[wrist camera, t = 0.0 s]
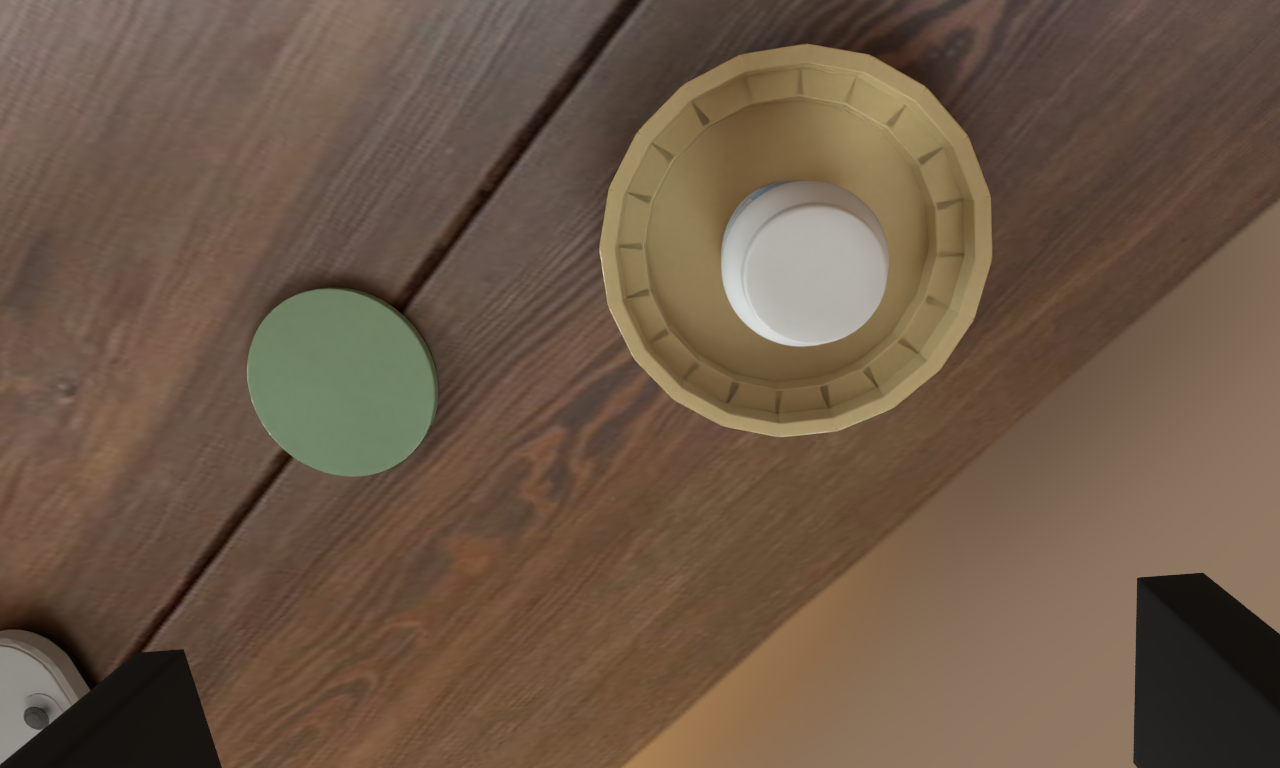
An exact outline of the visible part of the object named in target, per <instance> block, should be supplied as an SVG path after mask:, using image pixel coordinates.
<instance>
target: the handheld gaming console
mask: <svg viewBox="0 0 1280 768" xmlns="http://www.w3.org/2000/svg"><path fill="white" fill-rule="evenodd" d="M92 689H93V687H92V686H91V684H90V683H89V681H88V679H87V678H86V676H85V674H84V673H83V671H82V670H81V668H80V666H79V665H78V663H77V662H76V660H75V659H74V658H73V656H72V655H71V654H70V652H69V651H68V650H67V649H66V648H65V647H63V646H62V645H61V644H60V643H59V642H57V641H55V640H53V639H51V638H49V637H47V636H45V635H42V634H39V633H36V632H32V631H24V630H4V631H0V764H1V763H3V762H4V761H5V760H6V759H8V758H9V757H10V756H11V755H12V754H14V753H15V752H16V751H17V750H19V749H20V748H21V747H22V746H23V745H25V744H26V743H27V742H28V741H29V740H31V739H32V738H33V737H34V736H36V735H37V734H38V733H39V732H40V731H42V730H43V729H44V728H45V727H47V726H48V725H49V724H50V723H51V722H53V721H54V720H55V719H56V718H58V717H59V716H60V715H61V714H62V713H64V712H65V711H66V710H67V709H68V708H70V707H71V706H72V705H73V704H75V703H76V702H77V701H78V700H79V699H81V698H82V697H83V696H84V695H86V694H87V693H88V692H89V691H90V690H92Z"/></svg>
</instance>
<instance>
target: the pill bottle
mask: <svg viewBox="0 0 1280 768" xmlns="http://www.w3.org/2000/svg"><path fill="white" fill-rule="evenodd" d="M888 269H889V251H888V244H887V240H886V236H885V233H884V231H883V228H882V226H881V224H880V222H879V220H878V219H877V217H876V215H875V214H874V213H873V211H872V210H871V209H870V208H869V207H868V205H866V204H865V203H864V202H863V201H862V200H861V199H860V198H859V197H857V196H856V195H854V194H853V193H851V192H850V191H848V190H846V189H844V188H842V187H839V186H837V185H833V184H830V183H827V182H821V181H814V180H786V181H778V182H774V183H770V184H768V185H765V186H763V187H761V188H759V189H757V190H755V191H754V192H752V193H751V194H750V195H748V196H747V197H746V198H745V199H744V200H743V201H742V202H741V203H740V204H739V205H738V207H737V208H736V209H735V211H734V212H733V214H732V216H731V218H730V220H729V222H728V224H727V226H726V229H725V232H724V236H723V240H722V248H721V273H722V281H723V286H724V289H725V292H726V295H727V297H728V300H729V302H730V304H731V306H732V308H733V309H734V311H735V312H736V314H737V315H738V316H739V318H740V319H741V320H742V321H743V322H744V323H745V324H746V325H747V326H748V327H749V328H751V329H752V330H753V331H755V332H756V333H757V334H759V335H761V336H762V337H764V338H766V339H769V340H771V341H773V342H777V343H780V344H784V345H789V346H814V345H820V344H824V343H829V342H833V341H836V340H839V339H841V338H844V337H846V336H848V335H850V334H851V333H853V332H855V331H856V330H857V329H859V328H860V327H861V326H862V325H864V324H865V323H866V322H867V321H868V319H869V318H870V317H871V316H872V315H873V313H874V312H875V310H876V309H877V307H878V306H879V304H880V302H881V299H882V297H883V295H884V291H885V287H886V283H887V276H888Z"/></svg>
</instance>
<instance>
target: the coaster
mask: <svg viewBox="0 0 1280 768" xmlns="http://www.w3.org/2000/svg"><path fill="white" fill-rule="evenodd" d="M247 380H248V387H249V392H250V397H251V400H252V402H253V405H254V408H255V410H256V412H257V415H258V417H259V419H260V420H261V422H262V424H263V425H264V427H265V428H266V430H267V431H268V433H269V434H270V435H271V436H272V438H273V439H274V440H275V441H276V442H277V443H278V444H279V445H280V446H281V447H282V448H283V449H284V450H285V451H287V452H288V453H289V454H290V455H292V456H293V457H294V458H296V459H298V460H299V461H301V462H302V463H304V464H306V465H308V466H310V467H312V468H314V469H317V470H320V471H323V472H326V473H330V474H334V475H340V476H366V475H372V474H376V473H379V472H382V471H385V470H387V469H389V468H392V467H394V466H396V465H397V464H399V463H400V462H402V461H403V460H405V459H406V458H407V457H408V456H409V455H410V454H411V453H412V452H414V451H415V450H416V449H417V448H418V446H419V445H420V444H421V443H422V442H423V440H424V439H425V437H426V435H427V434H428V432H429V430H430V428H431V426H432V423H433V421H434V418H435V414H436V410H437V404H438V380H437V373H436V369H435V365H434V362H433V359H432V356H431V354H430V352H429V349H428V347H427V345H426V344H425V342H424V340H423V338H422V337H421V335H420V334H419V332H418V331H417V330H416V328H415V327H414V326H413V325H412V324H411V323H410V322H409V320H408V319H407V318H406V317H405V316H404V315H402V314H401V313H400V312H399V311H398V310H396V309H395V308H394V307H392V306H391V305H389V304H388V303H386V302H385V301H383V300H381V299H379V298H377V297H375V296H373V295H371V294H368V293H365V292H362V291H359V290H355V289H350V288H342V287H325V288H318V289H313V290H309V291H305V292H302V293H299V294H297V295H294V296H292V297H290V298H288V299H287V300H285V301H283V302H282V303H280V304H279V305H278V306H276V307H275V308H274V309H273V310H272V311H271V312H270V313H269V314H268V315H267V316H266V317H265V319H264V320H263V321H262V323H261V324H260V326H259V327H258V329H257V331H256V333H255V335H254V337H253V340H252V343H251V346H250V349H249V355H248V360H247Z"/></svg>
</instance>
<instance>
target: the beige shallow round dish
mask: <svg viewBox="0 0 1280 768" xmlns="http://www.w3.org/2000/svg"><path fill="white" fill-rule="evenodd" d="M786 180H814V181H821V182H827V183H830V184H833V185H837V186H839V187H842V188H844V189H846V190H848V191H850V192H851V193H853V194H854V195H856V196H857V197H859V198H860V199H861V200H862V201H863V202H864V203H865V204H866V205H868V207H869V208H870V209H871V210H872V211H873V213H874V214H875V215H876V217H877V219H878V220H879V222H880V224H881V226H882V228H883V231H884V233H885V236H886V240H887V244H888V251H889V269H888V276H887V283H886V287H885V291H884V295H883V297H882V299H881V302H880V304H879V306H878V307H877V309H876V310H875V312H874V313H873V315H872V316H871V317H870V318H869V319H868V321H867V322H866V323H865V324H864V325H862V326H861V327H860V328H859V329H857V330H856V331H855V332H853V333H851V334H850V335H848V336H846V337H844V338H841V339H839V340H836V341H833V342H829V343H824V344H820V345H814V346H789V345H784V344H780V343H777V342H773V341H771V340H769V339H766V338H764V337H762V336H761V335H759V334H757V333H756V332H755V331H753V330H752V329H751V328H749V327H748V326H747V325H746V324H745V323H744V322H743V321H742V320H741V319H740V318H739V316H738V315H737V314H736V312H735V311H734V309H733V308H732V306H731V304H730V302H729V300H728V297H727V295H726V292H725V289H724V286H723V281H722V273H721V248H722V240H723V236H724V232H725V229H726V226H727V224H728V222H729V220H730V218H731V216H732V214H733V212H734V211H735V209H736V208H737V207H738V205H739V204H740V203H741V202H742V201H743V200H744V199H745V198H746V197H747V196H748V195H750V194H751V193H752V192H754V191H755V190H757V189H759V188H761V187H763V186H765V185H768V184H770V183H774V182H778V181H786ZM989 195H990V192H989V189H988V187H987V184H986V181H985V179H984V176H983V173H982V171H981V168H980V165H979V163H978V160H977V157H976V155H975V152H974V149H973V147H972V144H971V141H970V139H969V137H968V136H967V134H966V132H965V131H964V130H963V129H962V128H961V126H960V125H959V124H958V123H957V122H956V121H955V119H954V118H953V117H952V116H951V115H950V113H949V112H948V111H947V110H946V109H945V108H944V106H943V105H942V104H941V103H940V102H939V101H938V99H937V98H936V97H935V96H934V95H933V93H932V92H931V91H930V90H929V89H928V88H926V86H925V85H923V84H921V83H919V82H918V81H916V80H914V79H912V78H911V77H909V76H907V75H905V74H904V73H902V72H900V71H898V70H897V69H895V68H893V67H891V66H890V65H888V64H886V63H884V62H882V61H881V60H879V59H877V58H875V57H874V56H870V55H869V54H864V53H859V52H853V51H847V50H841V49H836V48H830V47H824V46H818V45H813V44H800V45H793V46H787V47H781V48H775V49H769V50H763V51H757V52H751V53H745V54H742V55H738V56H736V57H734V58H732V59H730V60H729V61H727V62H725V63H723V64H721V65H719V66H717V67H715V68H713V69H711V70H710V71H708V72H706V73H704V74H702V75H700V76H698V77H696V78H694V79H693V80H691V81H689V82H687V83H685V84H683V86H681V87H680V88H679V89H678V90H677V91H676V92H675V93H674V94H673V95H672V96H671V97H670V98H669V99H668V100H667V101H666V102H665V103H664V104H663V105H662V106H661V107H660V108H659V109H658V110H657V111H656V113H655V114H654V115H653V116H652V117H651V118H650V119H649V120H648V121H647V122H646V123H645V124H644V125H643V126H642V127H641V128H640V129H639V130H638V132H637V133H636V135H635V137H634V139H633V141H632V143H631V145H630V147H629V149H628V151H627V153H626V155H625V157H624V159H623V161H622V163H621V165H620V167H619V169H618V171H617V173H616V175H615V177H614V179H613V181H612V183H611V185H610V188H609V190H608V196H607V202H606V208H605V215H604V221H603V227H602V233H601V240H600V246H599V248H600V249H599V251H600V257H601V264H602V271H603V277H604V284H605V291H606V297H607V304H608V307H609V310H610V312H611V314H612V316H613V318H614V320H615V322H616V324H617V326H618V328H619V330H620V332H621V334H622V336H623V338H624V340H625V342H626V344H627V346H628V348H629V350H630V352H631V354H632V356H633V358H634V359H635V361H636V362H637V363H638V364H639V365H640V366H641V367H642V368H643V369H644V370H645V371H646V372H647V373H648V374H649V375H650V376H651V377H652V378H653V379H654V380H655V381H656V382H657V383H658V384H659V385H660V386H661V388H662V389H663V390H664V391H665V392H666V393H667V394H668V395H669V396H670V397H671V398H672V399H674V400H675V401H677V402H679V403H680V404H682V405H684V406H686V407H688V408H690V409H692V410H693V411H695V412H697V413H699V414H701V415H703V416H705V417H706V418H708V419H710V420H712V421H714V422H716V423H717V424H719V425H721V426H723V425H724V426H725V427H729V428H734V429H739V430H744V431H749V432H755V433H760V434H765V435H770V436H775V437H779V436H780V437H787V436H797V435H807V434H817V433H827V432H835V431H840V430H842V429H844V428H847V427H849V426H852V425H854V424H856V423H859V422H861V421H864V420H866V419H869V418H871V417H873V416H876V415H878V414H881V413H883V412H886V411H888V410H890V409H892V408H894V407H895V406H896V405H898V404H899V403H900V402H901V401H903V400H904V399H905V398H906V397H908V396H909V395H910V394H911V393H912V392H914V391H915V390H916V389H917V388H919V387H920V386H921V385H922V384H924V383H925V382H926V381H927V380H929V379H930V378H931V377H932V376H933V375H935V374H936V373H937V372H938V371H939V370H940V369H941V368H942V366H943V365H944V363H945V362H946V360H947V359H948V357H949V356H950V355H951V353H952V352H953V350H954V349H955V347H956V346H957V344H958V343H959V341H960V340H961V338H962V337H963V335H964V334H965V332H966V331H967V329H968V328H969V326H970V325H971V323H972V322H973V320H974V317H975V315H976V312H977V308H978V305H979V302H980V298H981V295H982V292H983V288H984V285H985V282H986V278H987V275H988V272H989V268H990V265H991V262H992V259H991V258H992V221H991V196H989Z"/></svg>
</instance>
